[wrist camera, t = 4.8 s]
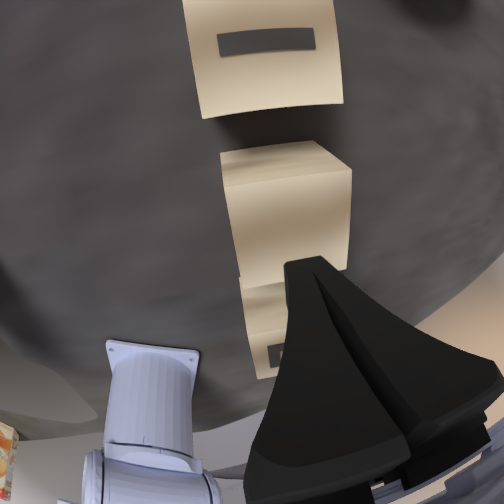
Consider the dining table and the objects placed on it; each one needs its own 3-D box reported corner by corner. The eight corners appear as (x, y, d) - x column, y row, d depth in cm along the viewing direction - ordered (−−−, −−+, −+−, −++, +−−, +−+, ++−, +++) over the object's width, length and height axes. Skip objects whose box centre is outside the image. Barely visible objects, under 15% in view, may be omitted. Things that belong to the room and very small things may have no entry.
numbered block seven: (312, 312, 22) (331, 364, 18) (248, 325, 22) (257, 380, 18) (313, 263, 20) (338, 317, 15) (238, 276, 19) (247, 336, 15)
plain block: (315, 219, 18) (346, 268, 14) (234, 232, 17) (243, 288, 13) (312, 139, 15) (351, 169, 11) (219, 152, 15) (223, 187, 10)
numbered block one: (305, 92, 13) (346, 103, 9) (205, 105, 13) (202, 119, 9) (294, 5, 10) (332, -21, 6) (190, 15, 10) (180, -14, 6)
